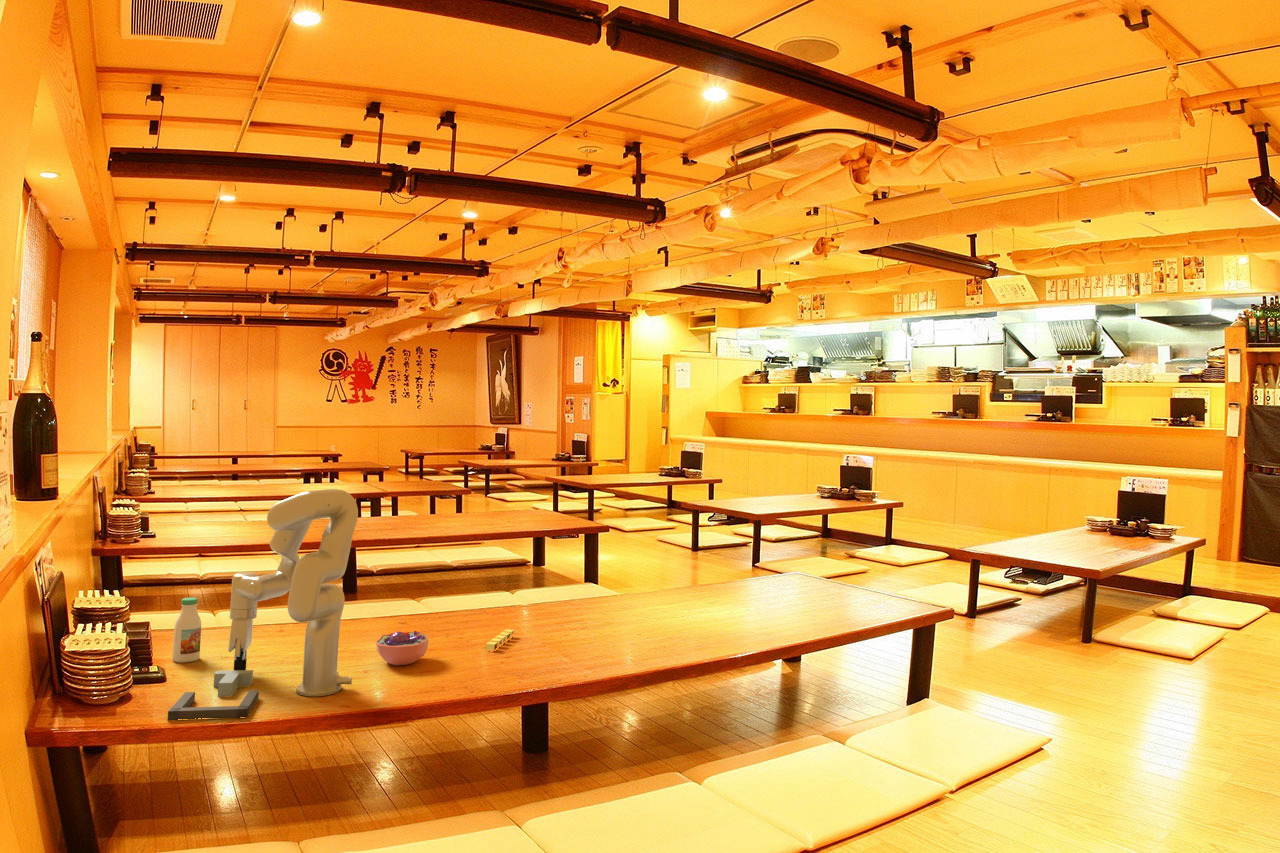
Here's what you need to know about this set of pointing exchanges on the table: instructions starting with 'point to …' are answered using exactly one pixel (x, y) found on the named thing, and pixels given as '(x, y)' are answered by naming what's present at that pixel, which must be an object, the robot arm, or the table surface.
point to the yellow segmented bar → (499, 639)
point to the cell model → (402, 647)
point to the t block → (231, 681)
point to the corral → (211, 708)
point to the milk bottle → (187, 633)
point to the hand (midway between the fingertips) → (239, 671)
